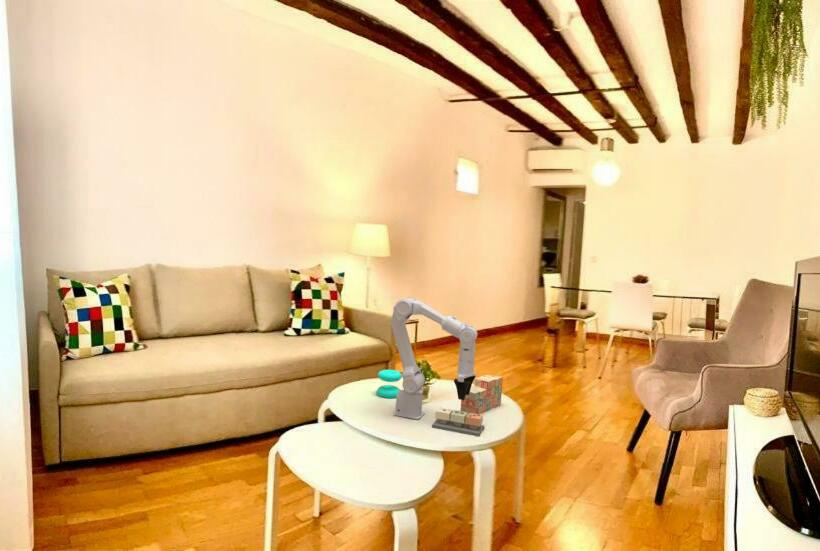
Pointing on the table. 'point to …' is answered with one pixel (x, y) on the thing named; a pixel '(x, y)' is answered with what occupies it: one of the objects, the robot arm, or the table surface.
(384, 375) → the donuts
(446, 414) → the tile one
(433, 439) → the table surface
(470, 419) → the tile three
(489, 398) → the stack of blocks
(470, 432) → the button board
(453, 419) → the tile two
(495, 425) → the table surface
